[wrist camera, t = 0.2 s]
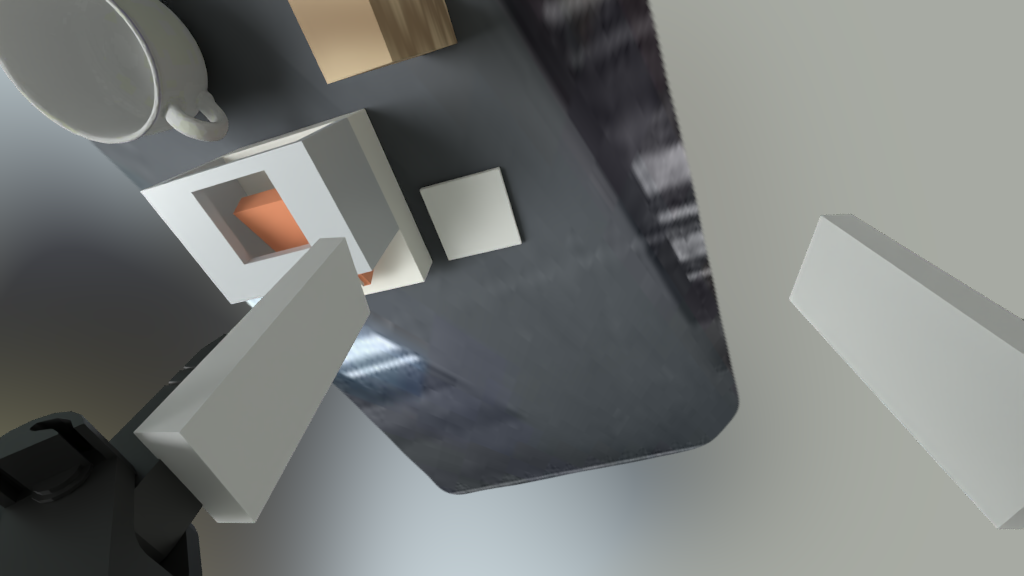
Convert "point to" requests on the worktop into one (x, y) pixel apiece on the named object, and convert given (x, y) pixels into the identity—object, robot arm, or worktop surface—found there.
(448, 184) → the pad
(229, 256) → the white boxy piece
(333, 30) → the oak stick
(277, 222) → the breaker rocker
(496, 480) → the worktop surface
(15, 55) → the teacup
